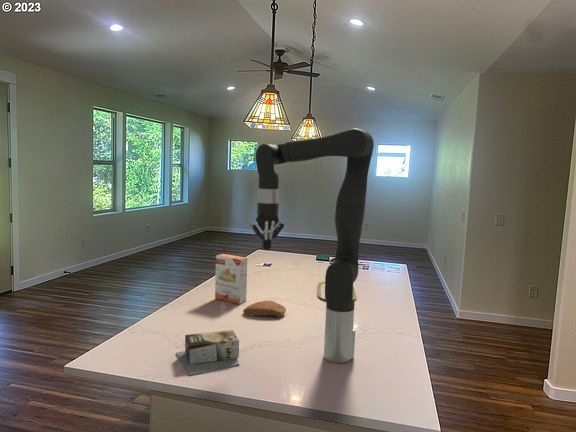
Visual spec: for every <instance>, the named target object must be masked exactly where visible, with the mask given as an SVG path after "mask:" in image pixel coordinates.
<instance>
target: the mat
mask: <svg viewBox="0 0 576 432" xmlns="http://www.w3.org/2000/svg"><path fill="white" fill-rule="evenodd" d="M175 354H176V356H177V357H178V360H179V361H180V363H181V365H182V367H183V368H184V370H185V371H186V373H187V375H188V376H189V377H190V376H194V375H195V376H197V375H199V374H200V375H201V374H206V373H210V372H213V371H218V370H223V369H229V368H233V366H234V367H238V366H237V365H239V366H240V362H238V361H237V360H236V358H234V359H227V360H219V361H212V362H204V363H197V364H190V365H189V363H188V359H187V356H186V353H185V350H184V351H178V352H176V353H175Z"/></svg>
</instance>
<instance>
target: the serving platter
mask: <svg viewBox="0 0 576 432" xmlns="http://www.w3.org/2000/svg"><path fill="white" fill-rule="evenodd" d="M322 286H325V280H324V281H320V282H319V283H317V295H318V297H319V298H320V299H321V300H322V301H325V302H326V299H325V297H322ZM356 299H357V294H356V290H355V287H354V286H353V300H354V301H355V300H356Z"/></svg>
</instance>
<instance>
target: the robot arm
mask: <svg viewBox="0 0 576 432" xmlns="http://www.w3.org/2000/svg"><path fill="white" fill-rule="evenodd" d="M374 146H375V145H374V139H373V135H371V133H369V132H368V131H367V130H363V129H361V128H355V127H354V128H350V129H347V130H345V131H340V132H338V133H335V134H331V135H327V136H322V137H317V138H316V137H315V138H306V139H297V140H290V141H287V142H284V143H280V144H270V143H263V144H260V145H259V146H258V147H257V149H256V152H255V164H256V169H257V174H258V191H257V199H256V201H257V206H256V207H257V209H256V213H257V214H256V218H255V222H254V223H251V224H250V225H249V226H250V228H251V230H252V231H253V232H254V234H255V235H256V237H257V238H259V239H261V240H262V241H261V242H262V244H261V247H262V249H263V250H264V251H270V249H271V248H272V239H276V238H277V237H278V235H279V234H280V233H281V231H282V230H283V228H284V227H285V224H284V223H282V222H281V221H280V219H279V207H280V206H279V205H280V204H279V203H280V201H279V200H280V193H279V185H280V184H279V183H280V182H279V180H280V176H279V174H278V172H276V171H275V167H274V166H275V165H281V164H285V163H286V164H287V163H297V162H305V161H311V160H315V159H320V158H325V157H345V158H346V170H345V175H344V178H343V181H342V184H341V185H340V189H339V191H338V194H337V196H336V197H337V198H336V205H335V212H334V213H335V214H334V224H335V225H334V226H335V230H336V231H335V232H336V238H337V242H336V243H337V244H336V250H335V251H336V252H335V256H334V260H333V262H332V263H330V265H329V266H328V267H327V269H326V271H325V277H324V281H325V284H324V299H326V301H325V304H326V305H325V306H326V307H325V324H324V325H325V326H324V342H323V343H324V344H323V345H324V346H323V348H324V349H323V357H324V359H325V360H327V361H328V362H331V363H335V364H346V363H348V362H350V361H351V360H353V359H354V358H355V345H356V330H355V329H354V318H355V317H354V316H355V300H353V287H354V283H355V282H356V281H357V278H358V276H359V249H360V242H361V241H360V240H361V237H362V231H363V225H364V224H363V223H364V218H365V209H366V198H367V191H368V190H367V188H368V175H369V171H370V165H371V160H372V156H373V152H374ZM259 229H260V230H259Z"/></svg>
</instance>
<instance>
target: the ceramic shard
mask: <svg viewBox="0 0 576 432" xmlns="http://www.w3.org/2000/svg"><path fill="white" fill-rule="evenodd" d="M286 311H287V308H286V307H285V306H284V305H282V304H280V303H278V302H275V301H273V300H262V301H257V302H253V303H252V304H250V305H248V306H246V307H245V308H243V310H242V313H243V315H245V316H274V317H277V318H282V317H283V316H284V315H285V313H286Z"/></svg>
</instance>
